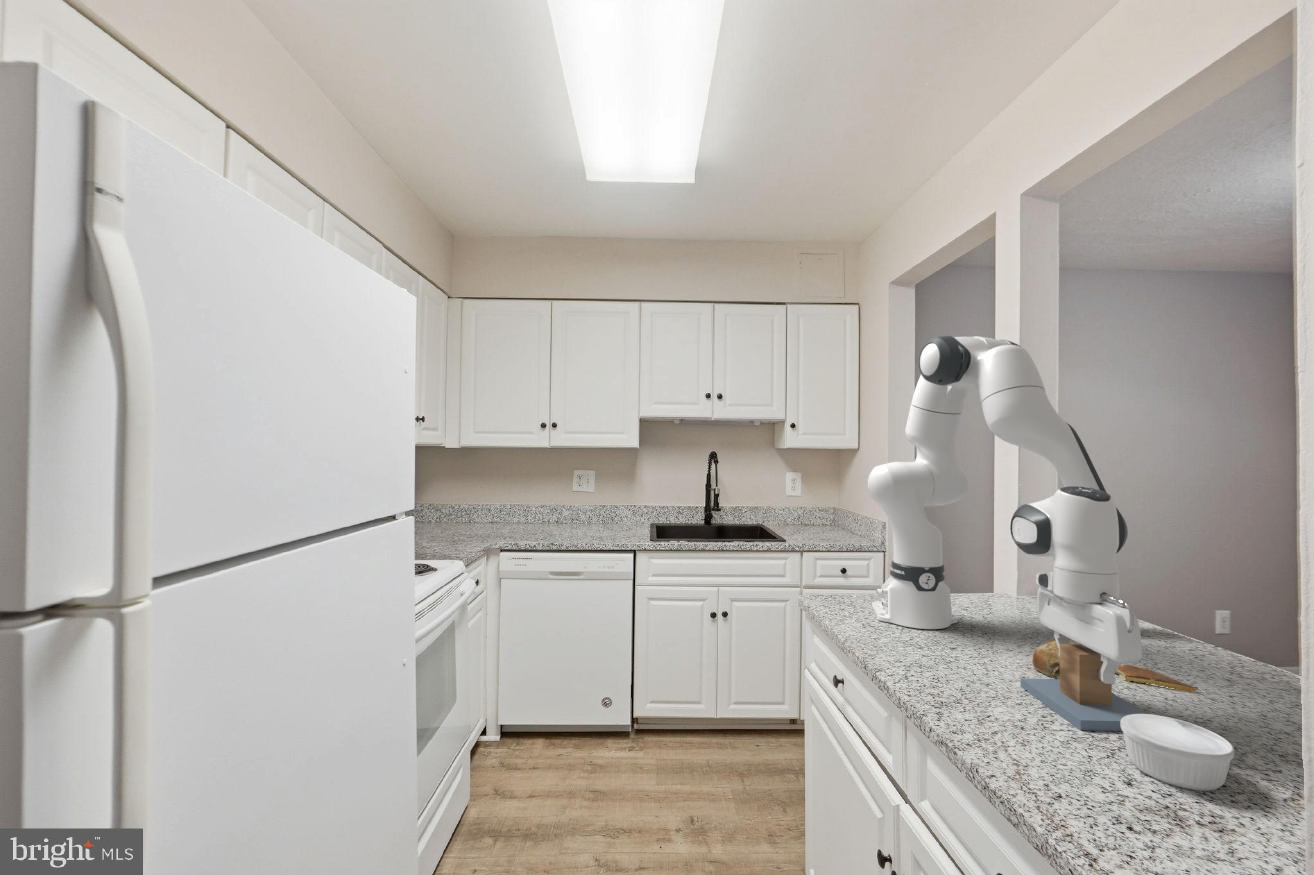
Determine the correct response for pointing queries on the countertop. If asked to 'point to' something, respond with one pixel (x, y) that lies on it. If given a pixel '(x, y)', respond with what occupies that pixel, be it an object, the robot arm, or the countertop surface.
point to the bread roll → (1048, 659)
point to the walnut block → (1082, 676)
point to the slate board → (1080, 706)
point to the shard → (1151, 678)
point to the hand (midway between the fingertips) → (1085, 670)
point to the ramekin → (1177, 751)
